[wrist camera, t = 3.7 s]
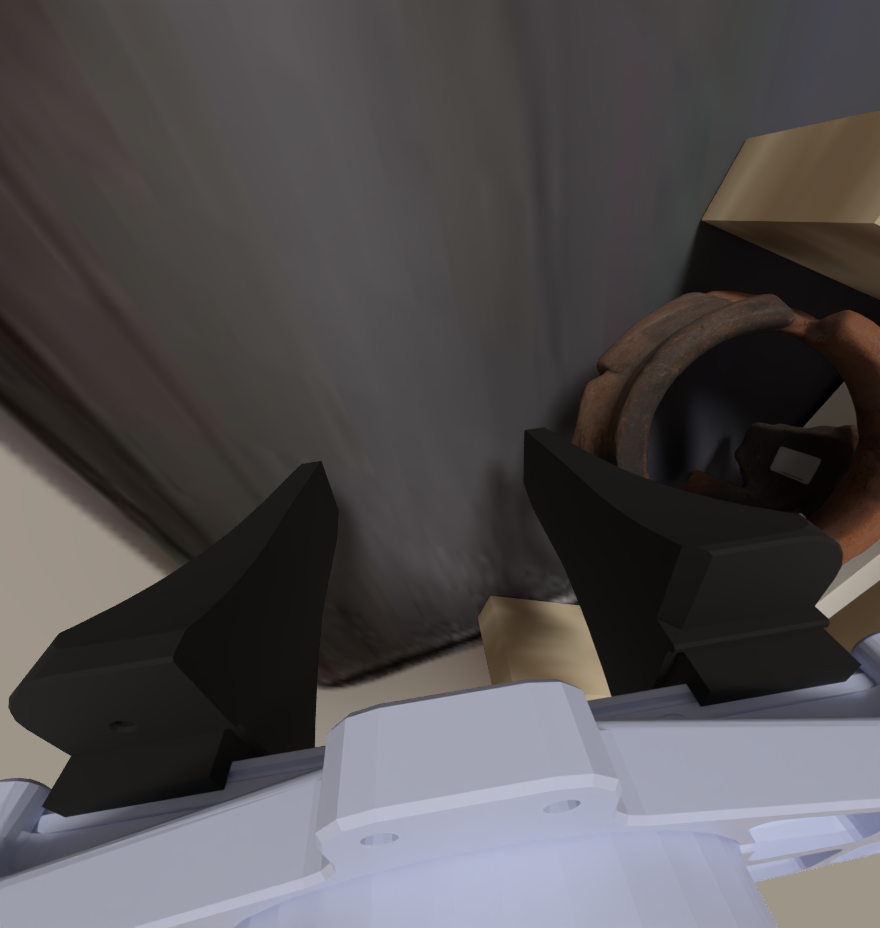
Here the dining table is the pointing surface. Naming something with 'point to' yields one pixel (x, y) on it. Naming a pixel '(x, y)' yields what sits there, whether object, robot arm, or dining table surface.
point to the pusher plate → (876, 559)
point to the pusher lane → (791, 236)
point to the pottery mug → (765, 446)
